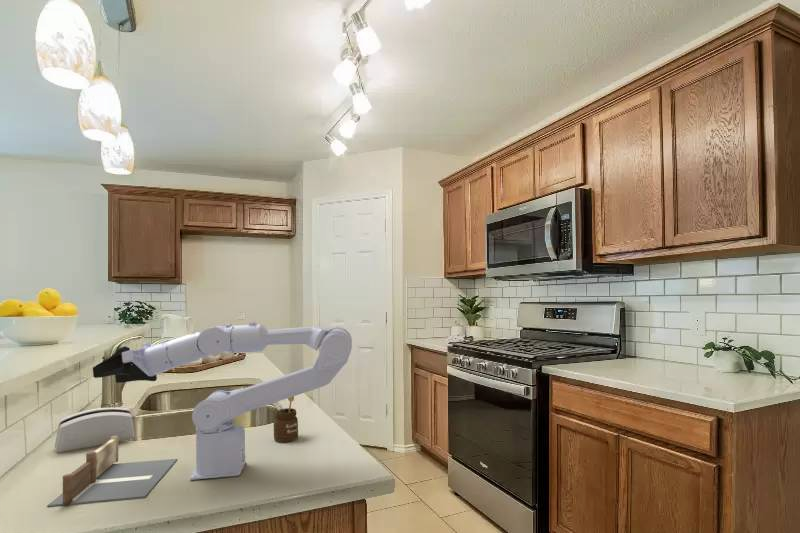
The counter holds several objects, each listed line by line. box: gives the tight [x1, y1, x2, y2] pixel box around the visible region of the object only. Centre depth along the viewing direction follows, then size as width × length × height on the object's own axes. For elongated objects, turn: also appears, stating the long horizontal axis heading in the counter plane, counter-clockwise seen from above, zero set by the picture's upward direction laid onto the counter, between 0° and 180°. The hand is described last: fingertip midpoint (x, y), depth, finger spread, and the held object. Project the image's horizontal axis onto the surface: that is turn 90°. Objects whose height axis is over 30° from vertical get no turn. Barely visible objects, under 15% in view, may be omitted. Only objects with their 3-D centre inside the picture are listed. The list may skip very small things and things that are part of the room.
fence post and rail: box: [62, 451, 96, 507], centre depth 87 cm, size 2×10×6 cm, turn 9°
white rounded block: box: [54, 406, 135, 454], centre depth 116 cm, size 17×5×10 cm, turn 126°
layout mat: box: [47, 458, 178, 508], centre depth 93 cm, size 16×19×1 cm
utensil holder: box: [273, 396, 299, 444], centre depth 116 cm, size 6×6×12 cm
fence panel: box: [93, 435, 119, 477], centre depth 98 cm, size 10×1×5 cm, turn 10°
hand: (105, 375), depth 95 cm, fingers open, 7 cm apart
